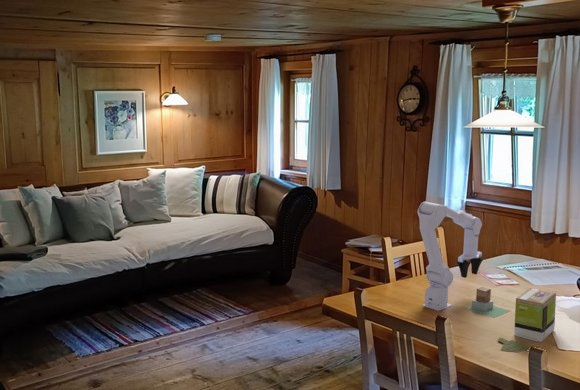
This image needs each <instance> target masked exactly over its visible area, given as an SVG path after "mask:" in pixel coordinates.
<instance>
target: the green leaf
mask: <svg viewBox="0 0 580 390" xmlns="http://www.w3.org/2000/svg"><path fill="white" fill-rule="evenodd" d="M497 341H499V342H500V343H502V346H501V348H500V351H502V352H503V351H505V352H513V353H516V354H517V353H521V352H524V351H525V352H528V351H527V350H529V348H530V347H531V346H530V345H526V344H524V343H521V342H518V341H516V340H513V339H510V340H507V339H505V338H503V337H498V339H497Z"/></svg>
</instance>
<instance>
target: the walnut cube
mask: <svg viewBox="0 0 580 390" xmlns="http://www.w3.org/2000/svg"><path fill="white" fill-rule="evenodd" d="M491 294H492V289H491V288H488V287H485V286H480V287H478V288H476V295H475V296H476V297H475V299H476V301H479V302H483V303H486V302H489V301H490V300H491V296H492V295H491Z"/></svg>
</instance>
